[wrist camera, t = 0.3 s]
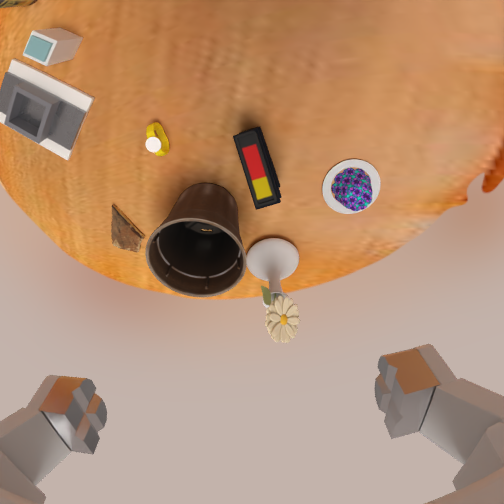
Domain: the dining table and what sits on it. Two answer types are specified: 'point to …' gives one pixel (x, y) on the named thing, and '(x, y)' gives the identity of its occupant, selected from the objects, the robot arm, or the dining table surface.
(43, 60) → the module block
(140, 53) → the dining table surface
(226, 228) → the plant pot
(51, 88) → the rail holder
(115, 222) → the shard
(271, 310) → the flower in vase
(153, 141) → the watch
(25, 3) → the sauce bottle
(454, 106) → the dining table surface
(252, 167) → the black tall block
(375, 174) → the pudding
